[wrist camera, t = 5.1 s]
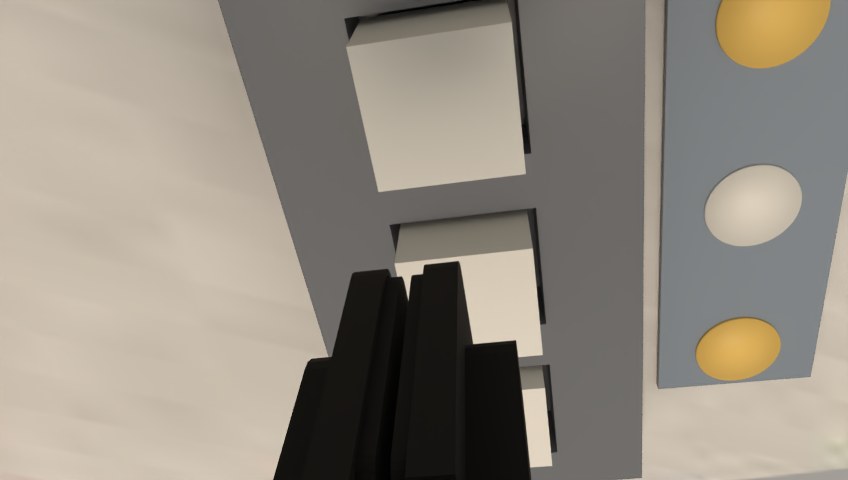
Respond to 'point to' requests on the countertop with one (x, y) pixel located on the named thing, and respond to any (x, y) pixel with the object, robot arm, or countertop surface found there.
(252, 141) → the countertop surface
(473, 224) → the key middle
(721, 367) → the pattern card
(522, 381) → the key
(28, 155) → the countertop surface
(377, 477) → the robot arm
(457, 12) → the key
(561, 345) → the button board
